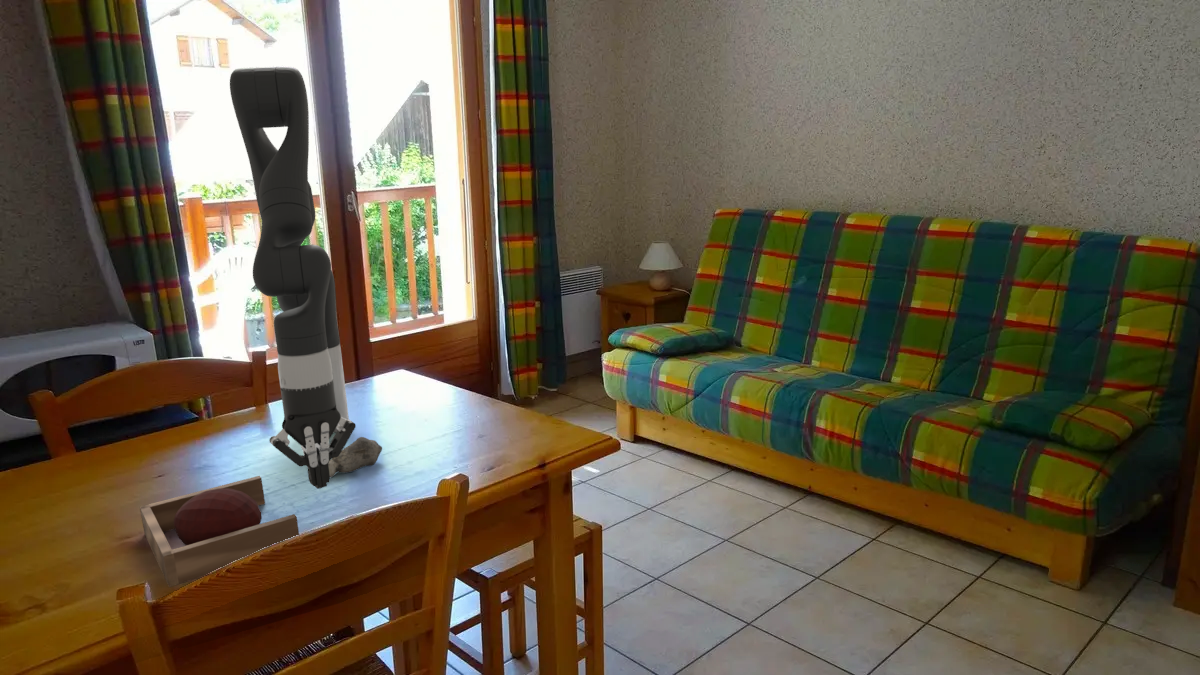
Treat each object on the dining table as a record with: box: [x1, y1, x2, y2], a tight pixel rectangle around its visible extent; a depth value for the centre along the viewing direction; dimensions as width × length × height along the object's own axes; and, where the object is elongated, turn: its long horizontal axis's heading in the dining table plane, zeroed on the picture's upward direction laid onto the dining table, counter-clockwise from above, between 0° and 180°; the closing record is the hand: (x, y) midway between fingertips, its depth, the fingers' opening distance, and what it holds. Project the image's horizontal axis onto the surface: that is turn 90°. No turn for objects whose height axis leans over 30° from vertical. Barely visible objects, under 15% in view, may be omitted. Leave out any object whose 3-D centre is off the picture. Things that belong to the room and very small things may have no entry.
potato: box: [173, 488, 263, 546], centre depth 117 cm, size 12×11×8 cm
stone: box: [328, 436, 383, 479], centre depth 144 cm, size 10×5×8 cm
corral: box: [139, 475, 300, 588], centre depth 119 cm, size 19×17×4 cm
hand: (320, 486), depth 126 cm, fingers closed
